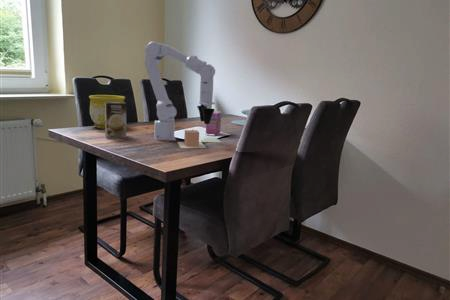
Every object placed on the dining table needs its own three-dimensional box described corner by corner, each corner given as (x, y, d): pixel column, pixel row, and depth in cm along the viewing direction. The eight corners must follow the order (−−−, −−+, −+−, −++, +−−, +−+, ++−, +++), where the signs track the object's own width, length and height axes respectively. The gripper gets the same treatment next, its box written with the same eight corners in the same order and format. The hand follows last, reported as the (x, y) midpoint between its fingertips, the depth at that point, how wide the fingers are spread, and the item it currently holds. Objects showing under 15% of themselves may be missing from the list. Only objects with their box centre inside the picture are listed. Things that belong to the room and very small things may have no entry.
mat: (202, 143, 156) (202, 141, 156) (198, 139, 165) (198, 138, 165) (221, 142, 159) (221, 141, 159) (216, 139, 167) (216, 138, 167)
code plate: (180, 148, 142) (180, 147, 142) (177, 142, 154) (177, 141, 154) (206, 148, 145) (206, 147, 145) (201, 142, 157) (201, 141, 157)
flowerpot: (131, 128, 183) (131, 97, 179) (99, 131, 170) (98, 98, 166) (115, 123, 195) (115, 94, 191) (84, 125, 182) (83, 95, 179)
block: (186, 146, 146) (186, 132, 145) (184, 143, 151) (184, 130, 150) (198, 146, 148) (199, 132, 146) (196, 143, 153) (196, 130, 151)
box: (216, 136, 175) (217, 113, 172) (205, 135, 176) (206, 112, 173) (220, 132, 185) (221, 111, 182) (210, 132, 186) (211, 110, 183)
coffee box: (106, 138, 155) (105, 102, 151) (104, 135, 161) (104, 101, 157) (126, 137, 159) (126, 103, 155) (125, 135, 164) (124, 101, 161)
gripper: (219, 94, 145) (217, 125, 149) (211, 91, 159) (209, 120, 162) (203, 93, 143) (201, 125, 147) (196, 90, 157) (195, 119, 160)
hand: (204, 122), depth 154 cm, fingers open, 7 cm apart
